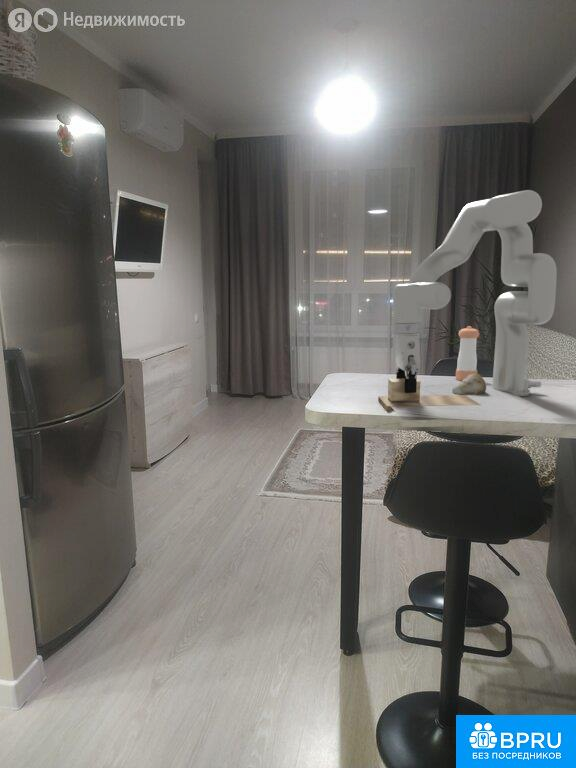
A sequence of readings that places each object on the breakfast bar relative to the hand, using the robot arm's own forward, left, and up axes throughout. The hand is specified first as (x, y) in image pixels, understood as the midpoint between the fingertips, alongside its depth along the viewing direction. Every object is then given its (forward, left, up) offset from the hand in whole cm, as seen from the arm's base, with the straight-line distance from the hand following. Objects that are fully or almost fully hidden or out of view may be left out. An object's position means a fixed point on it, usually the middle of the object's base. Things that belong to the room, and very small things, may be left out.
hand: (406, 388), depth 146 cm
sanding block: (+1, 0, -3) cm, 4 cm away
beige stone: (-22, -10, -5) cm, 25 cm away
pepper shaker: (-31, -38, -5) cm, 49 cm away
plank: (-6, 0, -5) cm, 8 cm away
